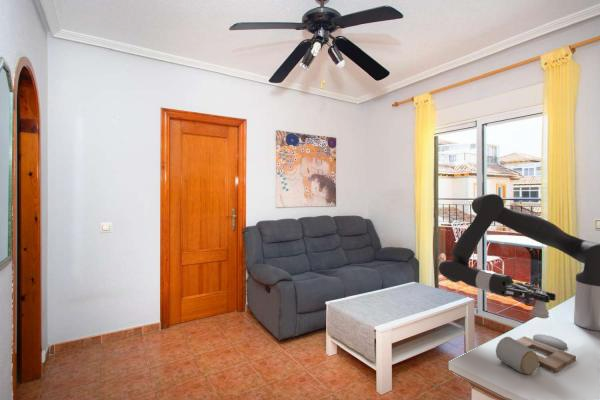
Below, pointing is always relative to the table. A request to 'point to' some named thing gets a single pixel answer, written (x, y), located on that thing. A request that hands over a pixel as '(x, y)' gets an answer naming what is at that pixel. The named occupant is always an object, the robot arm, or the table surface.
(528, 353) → the ceramic mug
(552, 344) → the slate-grey pad
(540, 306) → the rook chess piece
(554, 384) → the table surface
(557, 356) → the walnut frame
